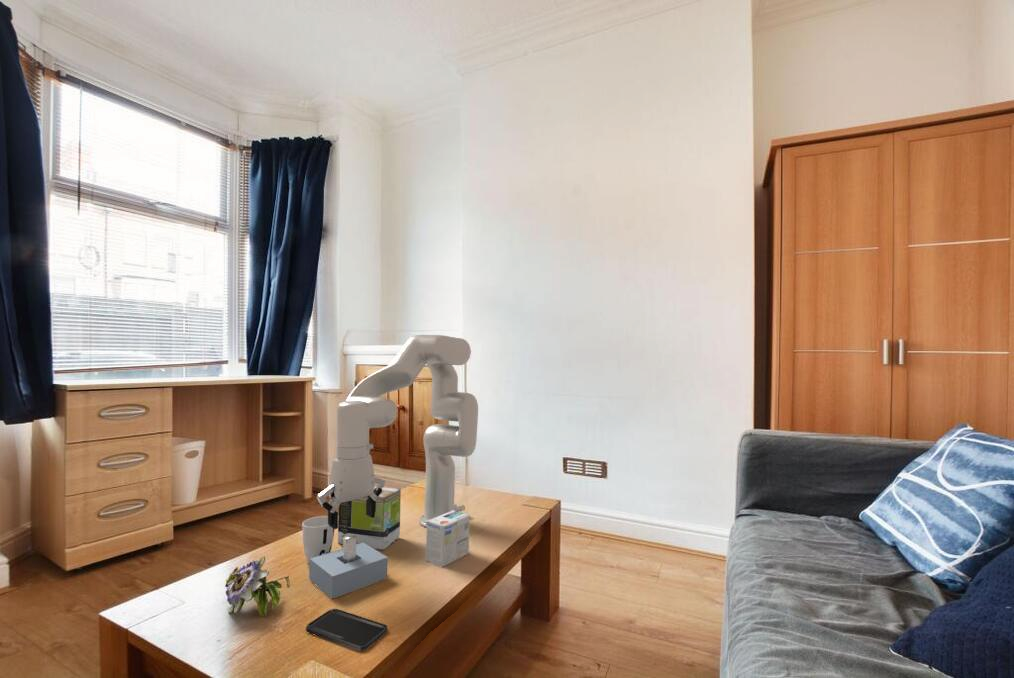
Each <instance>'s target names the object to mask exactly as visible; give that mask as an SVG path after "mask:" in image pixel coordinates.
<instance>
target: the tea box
mask: <svg viewBox="0 0 1014 678" xmlns="http://www.w3.org/2000/svg"><path fill="white" fill-rule="evenodd" d="M376 487H377V485H374V489H375V488H376ZM401 491H402V490H401V488H400V487H399V488H398V487H388V486H384V487H383V488H382V492H381V494H380V495H379V496H378V500H377V501H376V512H375V517H374V518H371V517H370V516H368V515H366V500H367V499H368V497H367V496H366V497H362V498H359V499H355V500H351V501H347V502H343V503H341V504H340V505H339V507H338V511H337V512H338V528H337V544H339V545H340V544H341V545H343V539H344V537H345V536H347V535H356V536H357V538H356V544H360V543H365V544H367V545H368V546H370V547H372V548H373V549H375V550H381V551H383V550H385V549H386V548H388V547H389V546H390V545H392V544H393V543H394V542H396V541H397V540H398V539H400V535H401V534H400V533H401V531H400V530H401V498H402V497H401V496H402V495H401V493H402V492H401ZM396 539H397V540H396ZM395 540H396V541H395ZM392 542H393V543H392ZM391 543H392V544H391Z"/></svg>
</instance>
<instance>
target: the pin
mask: <svg viewBox="0 0 1014 678" xmlns="http://www.w3.org/2000/svg"><path fill="white" fill-rule="evenodd" d="M356 538H357V536H356V535H347V536H345V537H344V539H343V544H342V549H343V563H344V564H346V563H349V562H352V561H355V560H356Z"/></svg>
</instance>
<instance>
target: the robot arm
mask: <svg viewBox="0 0 1014 678" xmlns="http://www.w3.org/2000/svg"><path fill="white" fill-rule="evenodd" d="M471 353H472V351H471V346H470V344H469V342H468V341H467V340H466V339H465V338H460V337H455V336H454V337H453V336H450V335H449V336H448V335H444V334H443V335H442V334H441V335H440V334H416V335H412V336H411V337H409V338H408V339H407V341H406V342H405V343H404V344H403V346H402V347H401V349H400V350H399V351H398V352H397V354H396V355H395V356H394V357H393V359H392V360H391V361H390V363H389V364H388V365H387V366H384V367H383V368H381V369H379V370H377V371H376V372H374V373H372V374H370V375H369V376H367V377H366V378H364V379H362V380H361V381H360V382H359V383H358V384H357V385H356V386H355V387H354V388H353V389H352V390H351V392H350V394H349V395H348V397H346V399H345V400H344V401H343V402H340V403H339V404H338V406H337V407H336V408H337V409H336V458H333V460H332V463H331V467H330V474H329V480H328V481H329V484H328V487H327V488H324V490H322V491H321V492H320V493H318V494H317V496H316V499H317V501H318V503H319V504H320V506H321V507H322V508H323V509H325V510H326V511H327V516H328V525H329V526H330V527H332V528H333V529H335V530H338V511H337V509H339V505H340V504H341V503H343V502H347V501H351V500H355V499H359V498H362V497H366V496H367V497H368V499H367V500H366V515H368V516H370V517H371V518H374V517H375V512H376V501H377V500H378V496H379V495H380V494H381V492H382V488H383V487H385V484H386V480H384V479H381V478H380V477H376V476H375V471H374V470H375V469H374V463H373V459H372V458H373V457H372V455H371V454H370V451H371V450H373V449H374V444H373V443H370V429H373V428H385V427H387V426H390V425H391V424H393V422H394V421H395V420H396V418H397V417H398V416H397V415H398V407H397V405H396V403H395V402H394V401H393V400H391V399H389V398H387V397H381V396H383V395H385V394H388V393H392V392H395V391H398V390H402V389H404V388H407V387H410V386H411V385H412V384H414V383H415V381H416V380H417V377H418V376H419V375H420V373H421V372H422V371H423V368H425V366H426V365H427V367H428V368H429V371H430V373H431V380H432V381H431V395H430V397H431V398H430V415H431V416H432V417H433V418H434V419H436V420H440V421H447V422H448V421H449V422H457V423H458V425H453V424H443V423H437V424H432V425H430V426H428V427H427V428H426V430H425V432H424V434H423V437H422V438H423V448H424V453H425V484H424V485H425V488H424V514H423V515H422V516H420V517H419V524H420V525H421V526H423V527H425V528H427V520H430V519H433V518H435V517H438V516H440V515H443V514H445V513H447V512H450V511H452V510H454V511H457V512H463V511H465V509H466V505H464V504H461V505H457V504H455V485H456V484H455V483H456V465H455V463H454V462H455V461H454V460H453V457H461V458H467V457H470V456H472V455H473V454H474V453H475V452H474V451H475V450H476V446H477V439H478V438H477V436H478V423H479V422H478V421H479V404H478V403H479V402H478V400H477V398H476V396H475V395H474V394H472V393H469V392H460V391H459V390H458V386H459V385H458V383H459V377H458V373H457V370H456V369H455V367H454V366H462V365H463V366H464V365H465V364H466V363H468V361H470V358H471V355H472V354H471ZM452 456H453V457H452ZM375 483H376V485H375ZM374 486H377V487H376V488H375V489H374ZM327 497H329V498H330V501H329V502H328V501H327Z"/></svg>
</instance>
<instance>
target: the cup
mask: <svg viewBox="0 0 1014 678" xmlns="http://www.w3.org/2000/svg"><path fill="white" fill-rule="evenodd" d="M301 528H302V530H301V531H302V544H303V550H304V555H305V558H306V561H308V562H309V563H308V562H307V563H308V564H310V559H311V558H314V557H317V556H320V555H324V554H327V553H330V552H332V547H333V543H334V537H335V530H336V529H333V528H332V527H330V526H329V525H328V515H321V516H320V515H319V516H314V517H310V518H308V519H305V520H304V521H303V522H302V524H301Z"/></svg>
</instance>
